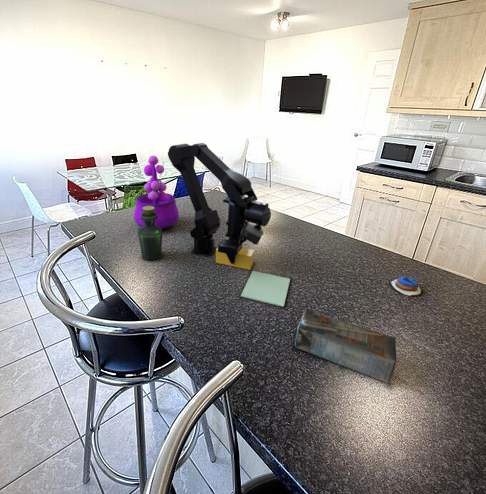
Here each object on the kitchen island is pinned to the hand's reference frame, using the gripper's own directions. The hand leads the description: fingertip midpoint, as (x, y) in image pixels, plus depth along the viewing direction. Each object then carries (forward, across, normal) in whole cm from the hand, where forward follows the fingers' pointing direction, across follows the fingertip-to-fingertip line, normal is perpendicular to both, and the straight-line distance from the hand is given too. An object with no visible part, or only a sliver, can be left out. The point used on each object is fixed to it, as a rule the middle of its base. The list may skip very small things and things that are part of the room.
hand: (234, 260), depth 99 cm
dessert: (+1, +6, -52) cm, 52 cm away
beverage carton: (+1, -28, -33) cm, 43 cm away
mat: (+1, -10, -13) cm, 16 cm away
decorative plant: (+1, +17, +40) cm, 43 cm away
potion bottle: (+1, -7, +28) cm, 29 cm away
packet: (+1, 0, 0) cm, 1 cm away
